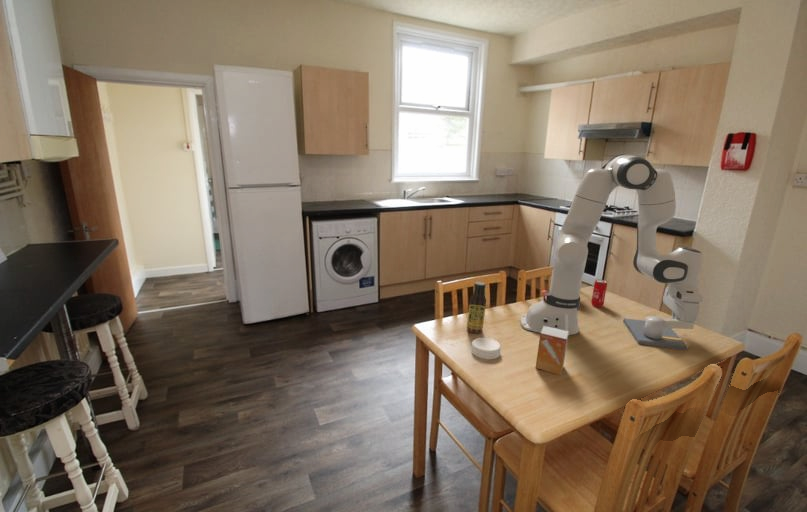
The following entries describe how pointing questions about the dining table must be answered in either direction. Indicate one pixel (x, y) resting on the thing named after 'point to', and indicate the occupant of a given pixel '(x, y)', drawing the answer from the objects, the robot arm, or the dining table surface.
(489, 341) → the white bowl
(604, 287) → the beverage can
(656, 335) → the white measuring scoop
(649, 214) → the robot arm
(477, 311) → the sauce bottle
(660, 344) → the plate
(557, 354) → the small box
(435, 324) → the dining table surface
